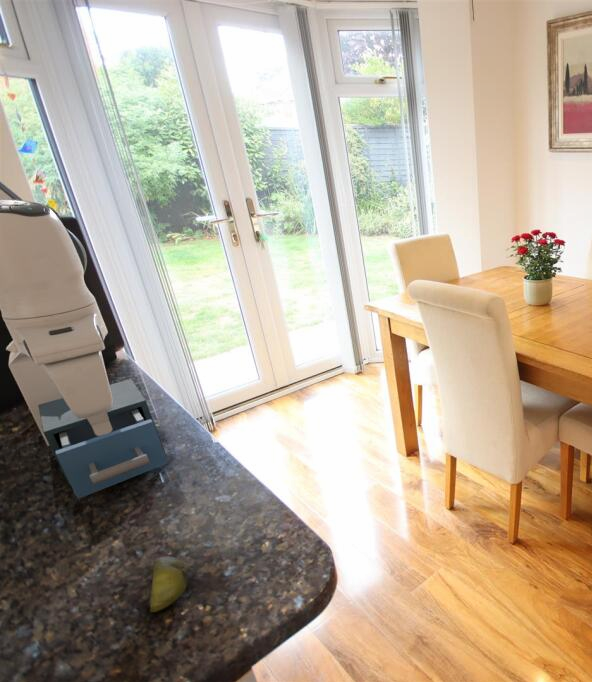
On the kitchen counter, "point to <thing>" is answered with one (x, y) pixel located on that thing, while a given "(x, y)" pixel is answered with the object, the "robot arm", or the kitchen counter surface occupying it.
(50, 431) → the cabinet
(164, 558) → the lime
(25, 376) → the milk carton
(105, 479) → the drawer
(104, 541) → the kitchen counter surface
